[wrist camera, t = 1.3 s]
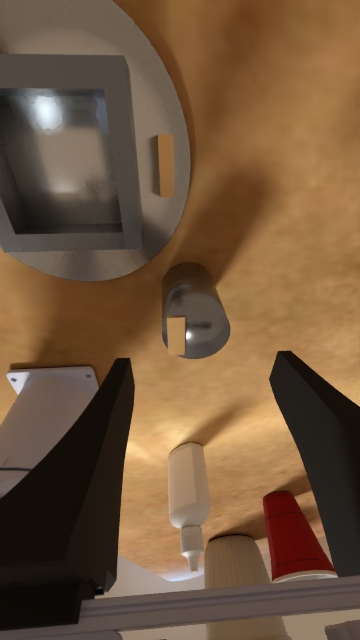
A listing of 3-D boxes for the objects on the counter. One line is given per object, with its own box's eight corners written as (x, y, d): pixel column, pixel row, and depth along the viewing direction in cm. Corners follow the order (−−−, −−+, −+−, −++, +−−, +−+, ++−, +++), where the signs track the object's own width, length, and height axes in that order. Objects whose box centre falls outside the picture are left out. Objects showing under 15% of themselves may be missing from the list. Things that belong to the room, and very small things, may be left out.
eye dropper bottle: (160, 448, 33) (159, 572, 24) (198, 438, 33) (214, 563, 23) (172, 462, 36) (176, 579, 26) (208, 453, 35) (226, 571, 25)
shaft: (210, 307, 20) (227, 359, 15) (163, 308, 20) (163, 362, 15) (214, 261, 18) (235, 306, 13) (160, 263, 18) (160, 309, 13)
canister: (218, 526, 55) (243, 696, 38) (279, 531, 61) (324, 682, 44) (182, 548, 64) (190, 693, 47) (238, 551, 70) (263, 681, 53)
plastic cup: (301, 479, 43) (343, 578, 33) (308, 499, 49) (345, 587, 39) (242, 493, 45) (265, 590, 35) (256, 510, 51) (278, 597, 41)
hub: (187, 275, 18) (191, 291, 16) (-2, 280, 18) (-24, 298, 16) (192, -27, 10) (200, -72, 8) (-157, -38, 10) (-246, -90, 8)
